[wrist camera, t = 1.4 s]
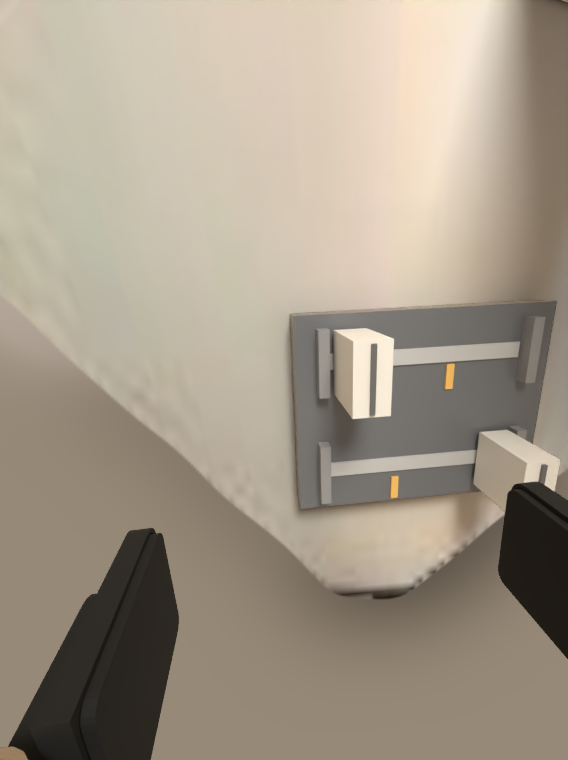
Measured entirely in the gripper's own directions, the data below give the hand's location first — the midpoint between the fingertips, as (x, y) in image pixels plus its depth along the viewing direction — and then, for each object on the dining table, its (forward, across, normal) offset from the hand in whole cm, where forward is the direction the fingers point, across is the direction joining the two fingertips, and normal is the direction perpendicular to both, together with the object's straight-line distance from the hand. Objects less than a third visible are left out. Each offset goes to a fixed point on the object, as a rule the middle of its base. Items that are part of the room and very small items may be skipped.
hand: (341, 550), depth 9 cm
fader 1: (+17, -5, -1) cm, 17 cm away
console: (+19, -11, +4) cm, 22 cm away
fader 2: (+17, -17, +8) cm, 25 cm away
